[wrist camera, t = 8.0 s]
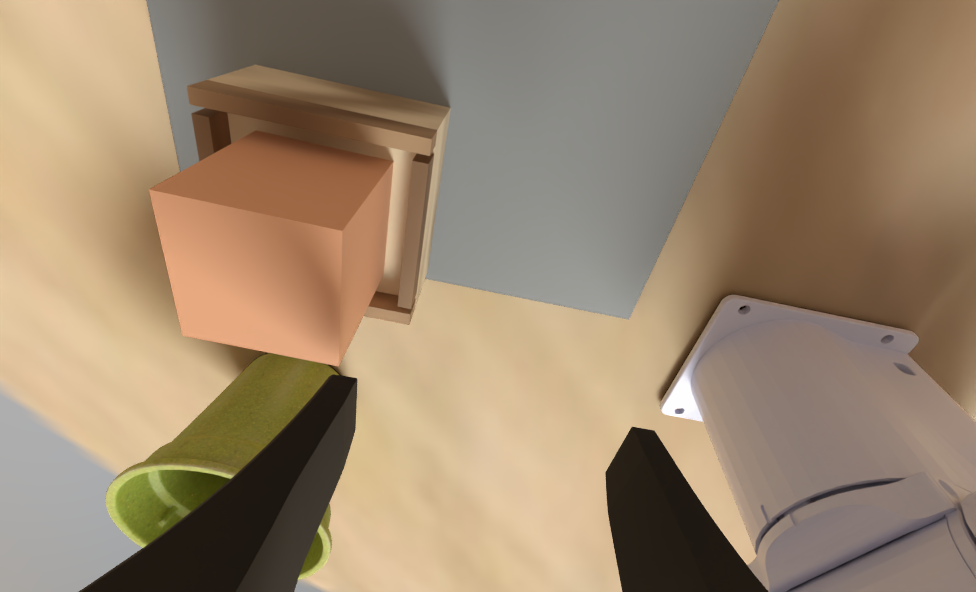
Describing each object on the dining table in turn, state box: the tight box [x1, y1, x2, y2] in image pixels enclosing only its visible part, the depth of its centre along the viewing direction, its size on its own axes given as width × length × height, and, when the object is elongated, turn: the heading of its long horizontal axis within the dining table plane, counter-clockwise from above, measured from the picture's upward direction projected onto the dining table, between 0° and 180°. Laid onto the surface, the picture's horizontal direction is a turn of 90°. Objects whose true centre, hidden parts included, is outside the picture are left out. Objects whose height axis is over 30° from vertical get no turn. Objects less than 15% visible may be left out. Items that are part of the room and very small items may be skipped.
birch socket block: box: [187, 65, 451, 325], centre depth 17 cm, size 7×7×4 cm
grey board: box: [146, 0, 779, 319], centre depth 16 cm, size 20×18×1 cm
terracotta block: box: [149, 130, 394, 366], centre depth 14 cm, size 4×4×5 cm
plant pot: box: [105, 353, 339, 580], centre depth 23 cm, size 9×9×9 cm
